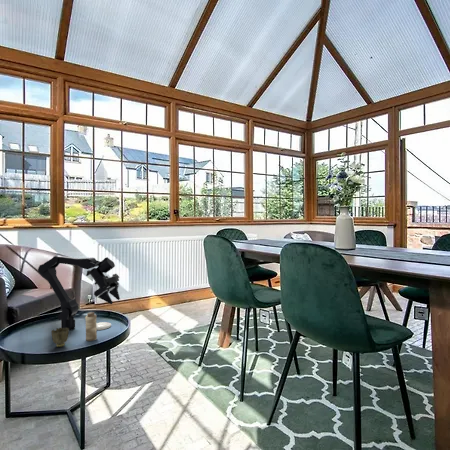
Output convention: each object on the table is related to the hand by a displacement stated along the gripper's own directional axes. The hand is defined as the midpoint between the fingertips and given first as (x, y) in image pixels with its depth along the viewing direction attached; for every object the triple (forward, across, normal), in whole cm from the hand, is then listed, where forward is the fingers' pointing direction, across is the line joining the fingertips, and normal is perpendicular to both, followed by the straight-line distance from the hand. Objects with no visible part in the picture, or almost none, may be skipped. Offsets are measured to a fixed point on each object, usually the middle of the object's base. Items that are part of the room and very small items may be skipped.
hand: (115, 301), depth 180 cm
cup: (+4, -25, +22) cm, 34 cm away
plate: (+6, +4, +18) cm, 19 cm away
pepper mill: (+9, -15, +14) cm, 22 cm away
